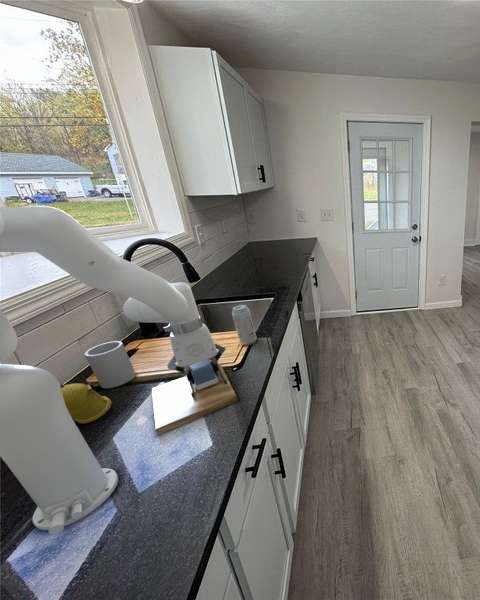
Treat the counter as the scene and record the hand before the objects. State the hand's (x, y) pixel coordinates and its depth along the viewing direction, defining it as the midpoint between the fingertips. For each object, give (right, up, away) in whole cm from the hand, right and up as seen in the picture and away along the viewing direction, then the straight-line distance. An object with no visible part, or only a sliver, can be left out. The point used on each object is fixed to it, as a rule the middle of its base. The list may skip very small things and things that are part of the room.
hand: (204, 377), depth 96 cm
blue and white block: (0, 0, 0) cm, 0 cm away
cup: (-33, -3, +8) cm, 34 cm away
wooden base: (-1, -5, -3) cm, 6 cm away
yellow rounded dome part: (-25, -9, -10) cm, 28 cm away
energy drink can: (+1, +7, +26) cm, 27 cm away
